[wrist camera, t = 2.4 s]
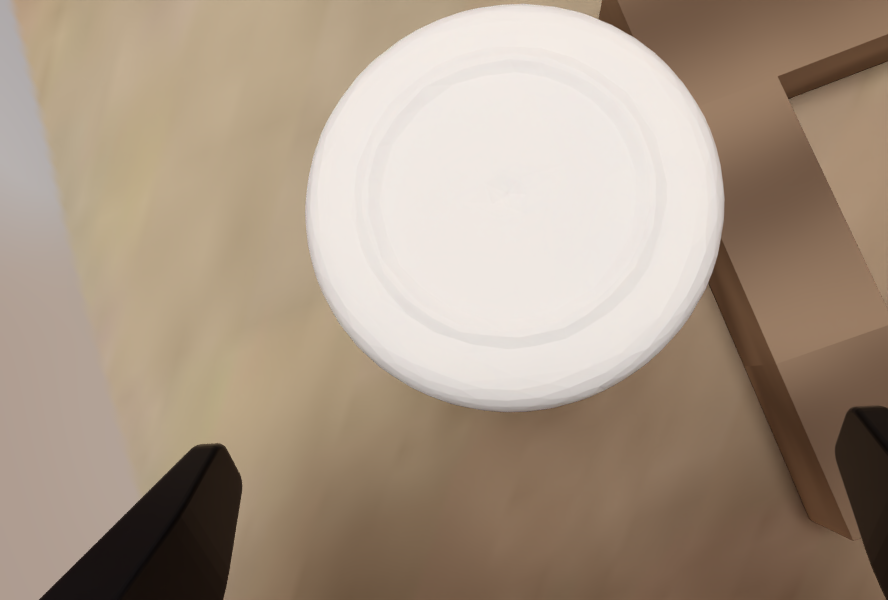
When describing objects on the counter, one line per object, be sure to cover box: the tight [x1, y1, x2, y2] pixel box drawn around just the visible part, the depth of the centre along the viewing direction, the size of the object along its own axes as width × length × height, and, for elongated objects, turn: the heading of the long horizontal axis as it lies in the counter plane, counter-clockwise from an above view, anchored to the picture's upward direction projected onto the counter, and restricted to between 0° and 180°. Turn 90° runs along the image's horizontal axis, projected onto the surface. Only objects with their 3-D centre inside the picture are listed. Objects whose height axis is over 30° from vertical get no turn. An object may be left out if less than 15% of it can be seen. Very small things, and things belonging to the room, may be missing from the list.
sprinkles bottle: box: [305, 4, 725, 412], centre depth 13 cm, size 5×5×14 cm
